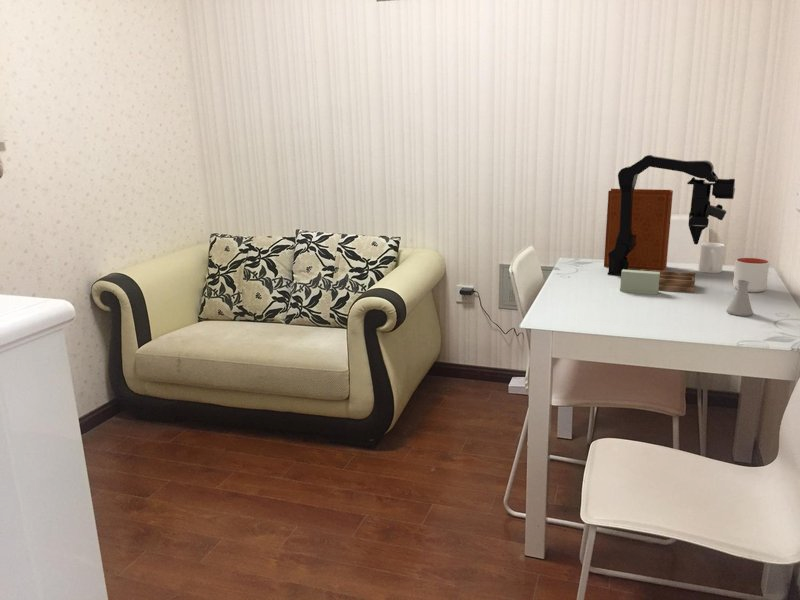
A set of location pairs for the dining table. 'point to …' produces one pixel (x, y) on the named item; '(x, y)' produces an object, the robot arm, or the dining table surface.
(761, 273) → the cup
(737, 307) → the flask
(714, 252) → the mug
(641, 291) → the pale green box
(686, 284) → the box
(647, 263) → the book
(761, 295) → the dining table surface
